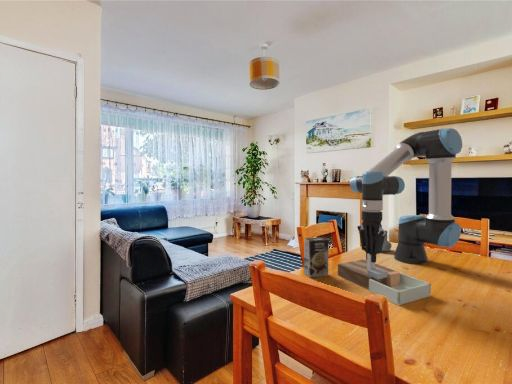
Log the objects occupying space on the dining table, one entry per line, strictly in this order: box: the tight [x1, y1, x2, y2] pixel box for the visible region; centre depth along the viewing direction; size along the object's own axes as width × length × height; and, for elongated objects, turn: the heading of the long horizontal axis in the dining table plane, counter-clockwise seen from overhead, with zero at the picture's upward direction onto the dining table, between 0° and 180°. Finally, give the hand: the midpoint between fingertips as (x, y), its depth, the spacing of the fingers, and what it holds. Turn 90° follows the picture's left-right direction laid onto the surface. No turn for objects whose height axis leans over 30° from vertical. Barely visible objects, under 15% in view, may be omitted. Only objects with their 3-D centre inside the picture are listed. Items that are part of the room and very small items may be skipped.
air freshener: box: [381, 233, 392, 253], centre depth 159 cm, size 11×8×10 cm
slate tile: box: [367, 268, 387, 279], centre depth 106 cm, size 5×5×2 cm
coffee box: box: [303, 236, 330, 278], centre depth 121 cm, size 9×6×16 cm
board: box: [337, 259, 398, 291], centre depth 115 cm, size 15×18×5 cm
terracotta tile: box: [386, 270, 401, 287], centre depth 107 cm, size 5×5×2 cm
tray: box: [368, 272, 432, 306], centre depth 101 cm, size 17×13×5 cm
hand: (370, 269), depth 109 cm, fingers closed
